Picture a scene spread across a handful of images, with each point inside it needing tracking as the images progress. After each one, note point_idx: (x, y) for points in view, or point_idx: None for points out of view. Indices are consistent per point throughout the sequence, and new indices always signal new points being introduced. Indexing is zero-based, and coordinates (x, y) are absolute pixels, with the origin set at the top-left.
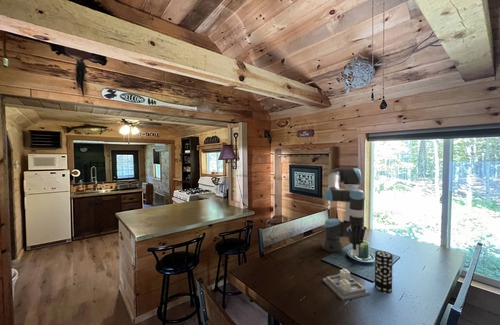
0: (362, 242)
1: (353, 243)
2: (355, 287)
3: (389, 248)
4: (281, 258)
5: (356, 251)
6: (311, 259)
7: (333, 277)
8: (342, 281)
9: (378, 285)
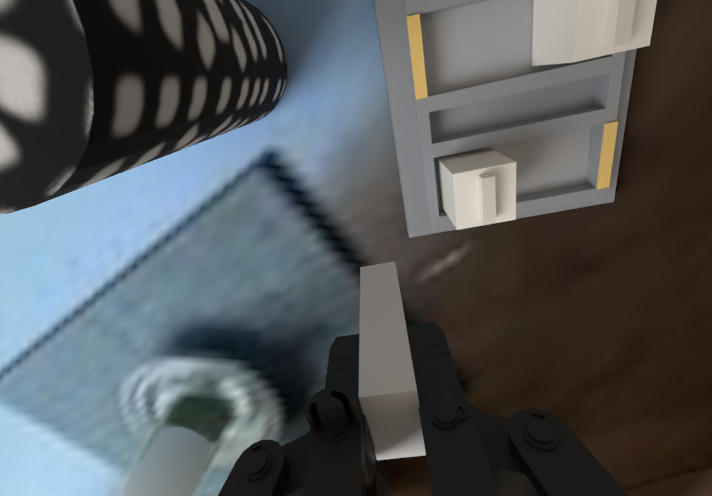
0: (245, 453)
1: (534, 426)
2: (450, 67)
3: (21, 455)
4: (684, 420)
5: (401, 300)
6: (518, 400)
7: (548, 194)
8: (638, 19)
9: (268, 33)
